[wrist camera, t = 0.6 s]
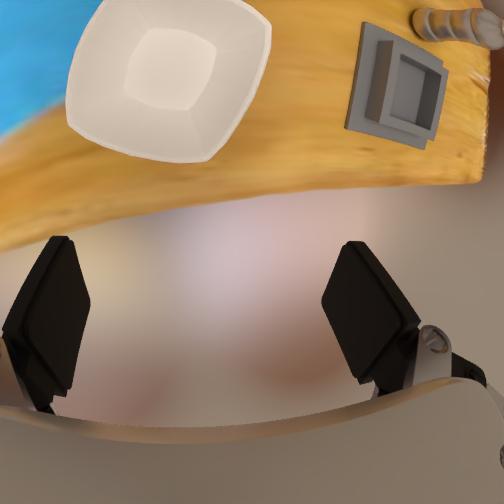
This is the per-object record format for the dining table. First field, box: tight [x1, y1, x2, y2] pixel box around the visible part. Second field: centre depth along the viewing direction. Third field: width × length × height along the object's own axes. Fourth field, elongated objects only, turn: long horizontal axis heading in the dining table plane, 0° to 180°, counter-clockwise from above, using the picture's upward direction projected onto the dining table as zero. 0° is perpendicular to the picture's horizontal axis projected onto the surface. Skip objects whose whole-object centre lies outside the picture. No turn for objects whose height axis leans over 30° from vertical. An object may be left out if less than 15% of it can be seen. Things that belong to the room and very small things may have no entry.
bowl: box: [65, 0, 272, 163], centre depth 25 cm, size 21×21×9 cm
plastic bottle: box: [412, 8, 504, 50], centre depth 18 cm, size 6×7×20 cm
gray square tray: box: [344, 22, 449, 150], centre depth 32 cm, size 18×17×5 cm
